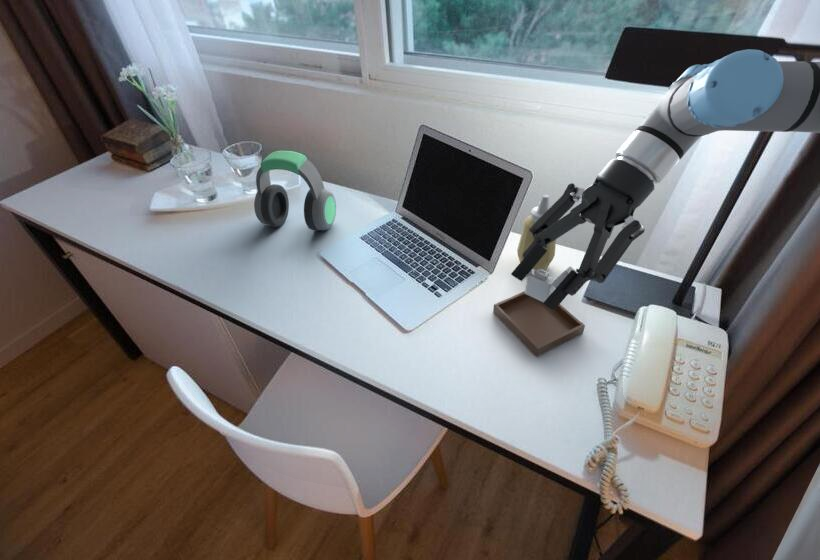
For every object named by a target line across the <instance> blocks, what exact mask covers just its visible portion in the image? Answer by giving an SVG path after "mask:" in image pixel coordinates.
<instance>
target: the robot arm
mask: <svg viewBox="0 0 820 560" xmlns="http://www.w3.org/2000/svg"><path fill="white" fill-rule="evenodd" d="M721 131H727V132H728V131H729V132H730V131H734V132H770V133H771V132H772V133H773V132H779V133H789V132H795V133H814V134H815V133H817V134H820V61H809V60H807V61H806V60H805V61H801V60H799V61H798V60H797V61H796V60H795V61H793V60H791V61H790V60H789V61H788V60H785V61H784V60H782V61H781V60H777V58H775V57H774V56H772V55H770V54H769V53H767V52H764V51H763V50H760V49H751V48H750V49H742V50H737V51H734V52H732V53H730V54H727V55H726V56H725V55H724V56H723V57H721V58H720V59H716V60H715V61H713V62H711V63H708V64H707V63H704V64H694V65H691V66H689V67H688V68H687V69H686V70H685V71H683V73H682V74H681V75H680V76H679V77H678V78H677V79H676V80H675V81H673V82H672V84H671V85H670V86H669V87H668V89H667V91H666V92H665V94H664V95H663V96H662V97H661V99H660V100H659V101H658V102H657V103H656V105H655V106H654V107H653V109H652V110H651V111H650V112H649V113H648V115H647V116H646V117H645V118H644V120H643V121H642V122H640V125H639V126H637V127H636V128H635V130H634V131H633V132H632V133H631V134H630V135H629V137H628V138H627V139H626V140H625V142H624V143H623V144H622V145H621V146H620V147H619V149H618V150H617V151H616V152H615V158H613V159H609V160H608V162H607V163H606V164H605V165H604V166H603V168H602V169H601V171H600V172H599V173H598V174H597V175H596V177H595V179H594V182H593V183H591V184H590V185H589V186H587V187H586V188H582V187H579V186H576V185H575V183H572V182H571V183H569V184H568V185H567V186H566V188H565V190H564V191H563V193H562V195H561V196H560V197H559V198H558V199H557V200H556V201H555V202H554V203H553V204H552V205H551V206H550V208H549V209H548V210H547V211H546V212H545V213H544V214H543V215H542V216H541V217H540V218H539V219H538V220H537V221H536V222H535V223H534V224H533V225H532V226H531V228H530V232H531V233H532V234H533V236H534V241H533V242H532V243H531V245H530V246H529V247H528V248H527V249H526V251H525V252H524V253H523V257H524V259H523V260H522V261H521V262H520V261H519V264H517V266H516V267H515V268H514V269H513V270H512V272H511V273H510V275H511V276H512V277H513V278H514V279H517V280H518V281H521V282H523V281H524V280H525V278H527V276H528V273H529V272H530V271H531V270H532V268H533V267H534V266H535V265H536V264H537V263H538V261H539V260H540V259H541V258H542V257H543V255H544V254H545V253H546V252H547V250H546V249H545V248H547V245H548V244H549V243H551V242H552V241H554V240H556V241H557V239H559V238H560V237H562V236H563V235H565V234H566V233H568V232H570V231H571V230H573V229H575V228H576V227H577V226H579V225H583V224H585V223H587V222H588V223H589V224H592V225H594V227H593V234H592V235H591V239H590V241H589V242H588V246H587V248H586V251H585V253H584V255H583V258H582V260H581V263H580V265H579V268H576V269H574V270H575V271H576V272H575V271H574V270H571V271H570V273H569V274H568V275H567V276H566V277H565V278H564V280H563V281H562V282H561V283H560V284H559V285H558V286H557V288H554V289H553V292H552V293H551V295H550V296H549V297H548V298H547V299H546V300H545V301H544V304H545V305H546V306H548V307H550V308H551V309H553V310H555V309H556V308H557V306H558V305H559V304H560V305H561V304H562V302H563V301H564V300H565V299H566V297H568V295H569V296H571V297H573V296H575V295H576V294H577V293H578V292H579V291H580V290H581V289H582V287H583V286H584V285H585V284H586V283H587V282H589V281H593V282H596V283H598V284H603V283H604V282H605V281H606V279H607V278H608V277H609V275H610V274H611V272H612V271H613V269H614V268H615V267H616V265H617V264H618V262H620V260H621V258H622V257H623V255H624V254H625V252H626V251H627V250H628V248H630V246H631V244H632V243H633V241H635V240H636V239H637V238H639V237H641V235H643V234H644V233H645V227H644V226H643V225H642V223H641V222H640V221H639V220H637V219H635V218H634V213H635V211H636V210H637V208H639V207H640V206H641V205H642V204H643V203H644V202H645V201H646V200H647V198H648V197H649V196H650V195H651V194H652V193H653V191H654V190H655V185H657V184H660V183H661V182H662V181H663V180H664V179H665V178H666V176H667V175H669V173H670V172H671V171H672V170H673V168H675V166H676V165H677V164H678V163H679V162H680V160H681V159H682V158H683V157H684V156H685V155H686V153H687V152H689V150H690V149H691V148H692V147H693V146H694V145H695V143H696V142H697V141H698V140H699V139H700V138H701V137H703V136H706V135H710V134H713V133H716V132H721ZM580 200H581V201H580ZM576 202H577V203H578V202H580V203H579V204H577V205H576V204H575V203H576ZM574 205H576V206H574ZM572 207H573V208H572ZM571 208H572V209H571ZM569 210H570V211H569ZM568 211H569V212H568ZM567 212H568V213H567ZM622 224H623V225H622ZM619 225H622V228H621V230H620V232H618V234H617V235H616V237H615V238H614V240H613V241H612V242H611V243H610V245H609V246H608V247H607V249H606V251H605V252H604V254H603V251H604V249H605V246H606V244H607V241H608V240H609V239H610V238H611V235H612V233H613V231H614V228H615V227H616V226H619ZM543 247H544V248H543ZM601 256H602V257H601ZM771 560H820V463H819V464H818V466H817V469H816V471H815V472H814V474H813V476H812V478H811V480H810V482H809V485H808V487H807V489H806V491H805V492H804V495H803V497H802V498H801V501H800V503H799V505H798V506H797V509H796V511H795V513H794V515H793V517H792V519H791V521H790V522H789V525H788V527H787V529H786V531H785V533H784V535H783V537H782V540H781V542H780V543H779V545H778V547H777V550H776V551H775V553H774V555H773V557H772V559H771Z"/></svg>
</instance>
